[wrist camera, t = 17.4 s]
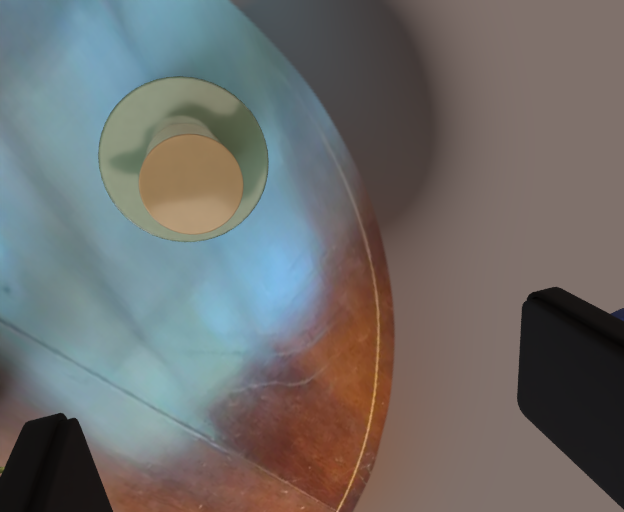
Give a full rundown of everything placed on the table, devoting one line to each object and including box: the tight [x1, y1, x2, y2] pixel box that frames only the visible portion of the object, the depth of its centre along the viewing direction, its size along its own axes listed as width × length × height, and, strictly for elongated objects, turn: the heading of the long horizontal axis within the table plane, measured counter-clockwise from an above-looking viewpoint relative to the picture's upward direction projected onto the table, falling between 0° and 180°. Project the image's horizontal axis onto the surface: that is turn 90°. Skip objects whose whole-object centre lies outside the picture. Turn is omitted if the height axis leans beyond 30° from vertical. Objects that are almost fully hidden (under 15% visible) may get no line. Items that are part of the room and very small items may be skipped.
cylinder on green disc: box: [98, 76, 269, 242], centre depth 21 cm, size 8×8×7 cm
